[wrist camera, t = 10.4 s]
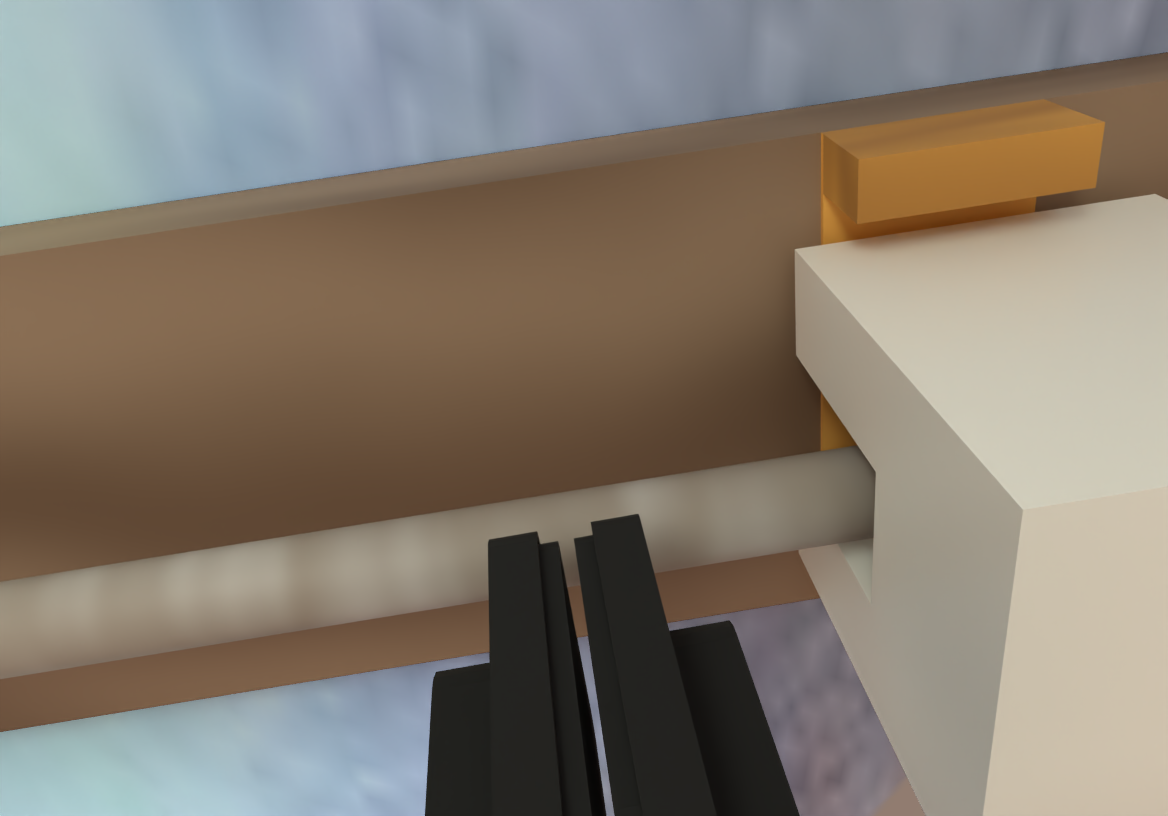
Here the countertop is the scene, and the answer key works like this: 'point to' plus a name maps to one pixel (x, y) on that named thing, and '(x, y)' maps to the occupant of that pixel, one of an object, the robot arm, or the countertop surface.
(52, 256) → the linear slide rail
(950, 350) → the sleeve
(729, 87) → the countertop surface
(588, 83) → the countertop surface
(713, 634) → the robot arm
